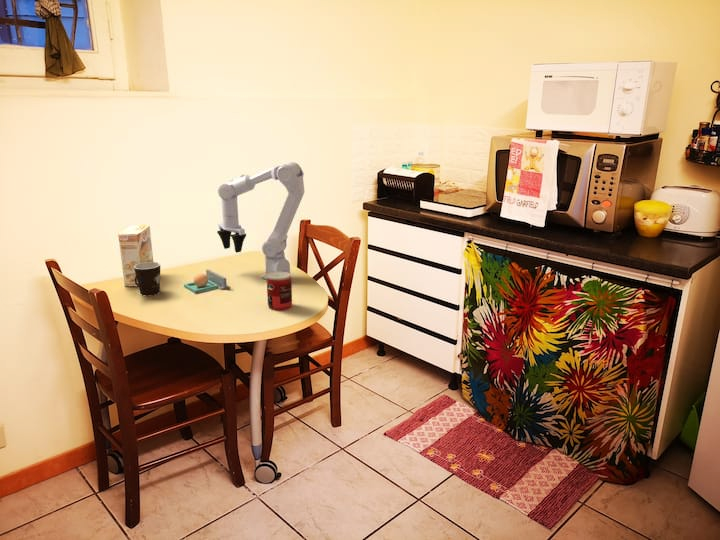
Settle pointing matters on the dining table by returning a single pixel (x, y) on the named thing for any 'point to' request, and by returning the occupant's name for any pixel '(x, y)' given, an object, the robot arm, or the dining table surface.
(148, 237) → the coffeecake box
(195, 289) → the coaster
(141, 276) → the coffee mug
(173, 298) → the dining table surface
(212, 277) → the wall
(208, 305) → the dining table surface
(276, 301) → the canned food
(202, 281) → the ball
